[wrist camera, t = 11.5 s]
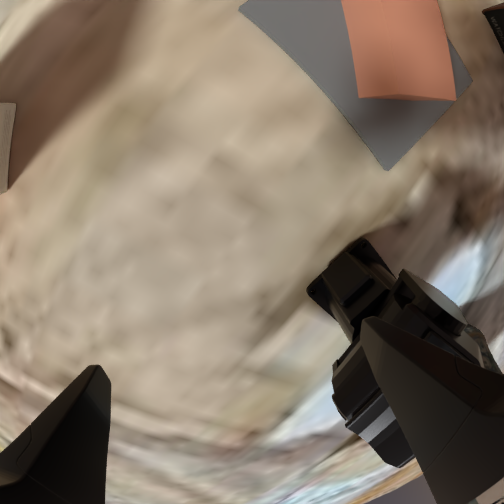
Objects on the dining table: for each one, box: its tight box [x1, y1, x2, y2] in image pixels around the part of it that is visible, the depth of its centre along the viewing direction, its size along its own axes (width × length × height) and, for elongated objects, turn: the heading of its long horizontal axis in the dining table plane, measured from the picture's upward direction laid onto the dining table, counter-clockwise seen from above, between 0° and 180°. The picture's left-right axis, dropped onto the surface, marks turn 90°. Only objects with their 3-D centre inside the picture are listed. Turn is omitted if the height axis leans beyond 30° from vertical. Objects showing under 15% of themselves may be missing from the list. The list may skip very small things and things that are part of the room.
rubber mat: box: [238, 0, 473, 171], centre depth 16 cm, size 16×14×1 cm
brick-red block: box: [341, 0, 456, 101], centre depth 13 cm, size 5×5×10 cm
